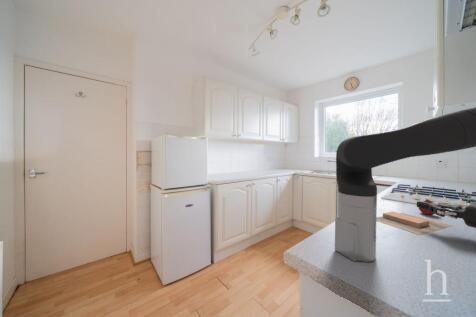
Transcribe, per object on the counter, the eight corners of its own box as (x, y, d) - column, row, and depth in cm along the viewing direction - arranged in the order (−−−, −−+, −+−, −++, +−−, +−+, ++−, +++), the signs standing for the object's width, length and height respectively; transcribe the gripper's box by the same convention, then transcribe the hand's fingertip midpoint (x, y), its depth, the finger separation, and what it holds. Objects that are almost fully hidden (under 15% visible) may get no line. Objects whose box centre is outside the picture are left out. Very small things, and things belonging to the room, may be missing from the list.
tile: (418, 223, 66) (382, 213, 77) (418, 227, 66) (382, 216, 78) (429, 220, 69) (393, 211, 80) (429, 225, 69) (392, 215, 80)
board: (419, 237, 60) (419, 234, 60) (369, 221, 75) (369, 218, 75) (452, 228, 68) (452, 225, 68) (402, 214, 83) (402, 212, 83)
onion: (441, 218, 78) (441, 200, 78) (425, 218, 79) (426, 200, 79) (429, 214, 84) (429, 197, 84) (415, 213, 85) (415, 197, 85)
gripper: (503, 204, 55) (427, 193, 71) (483, 209, 50) (407, 195, 67) (502, 228, 55) (427, 211, 71) (482, 235, 51) (407, 215, 67)
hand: (417, 204), depth 69 cm, fingers closed
